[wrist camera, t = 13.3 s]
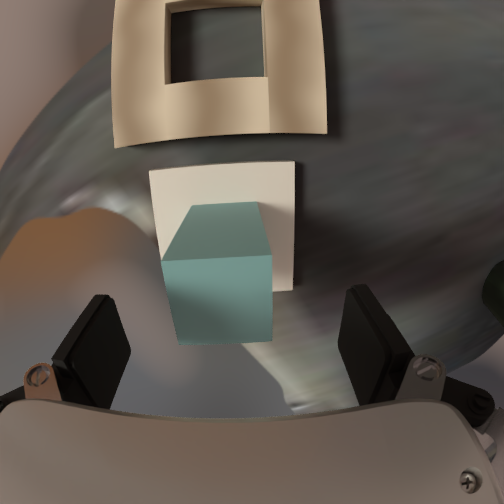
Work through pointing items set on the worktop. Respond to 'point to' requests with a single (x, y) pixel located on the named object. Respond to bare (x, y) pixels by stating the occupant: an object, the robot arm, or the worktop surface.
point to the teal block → (220, 276)
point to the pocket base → (216, 90)
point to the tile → (230, 191)
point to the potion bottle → (495, 292)
